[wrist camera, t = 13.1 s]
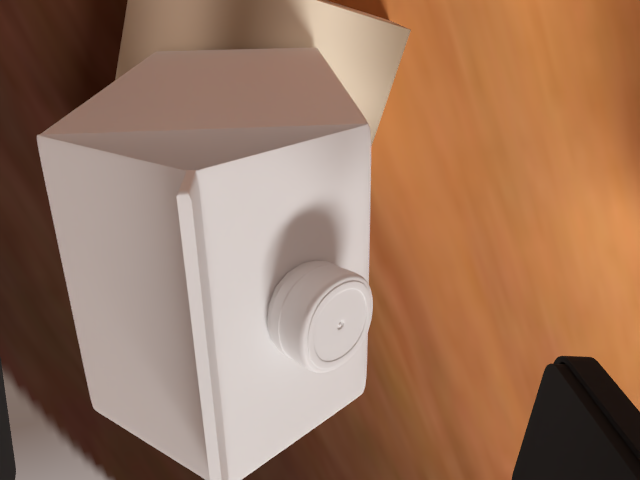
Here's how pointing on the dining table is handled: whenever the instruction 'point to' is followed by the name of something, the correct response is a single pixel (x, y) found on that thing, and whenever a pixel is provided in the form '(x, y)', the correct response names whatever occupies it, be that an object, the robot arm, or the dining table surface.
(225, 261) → the milk carton
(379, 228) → the dining table surface
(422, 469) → the dining table surface
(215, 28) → the birch block
